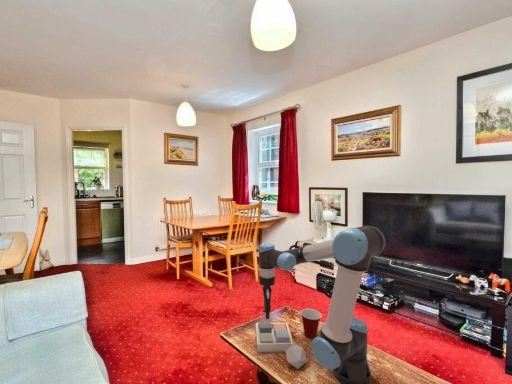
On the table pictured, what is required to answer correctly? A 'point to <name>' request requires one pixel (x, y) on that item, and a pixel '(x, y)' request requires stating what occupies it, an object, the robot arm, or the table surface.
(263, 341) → the key sage
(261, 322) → the key charcoal
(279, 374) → the table surface
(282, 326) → the key terracotta
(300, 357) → the die
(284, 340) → the key slate
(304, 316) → the plastic cup
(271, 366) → the table surface
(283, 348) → the keypad
